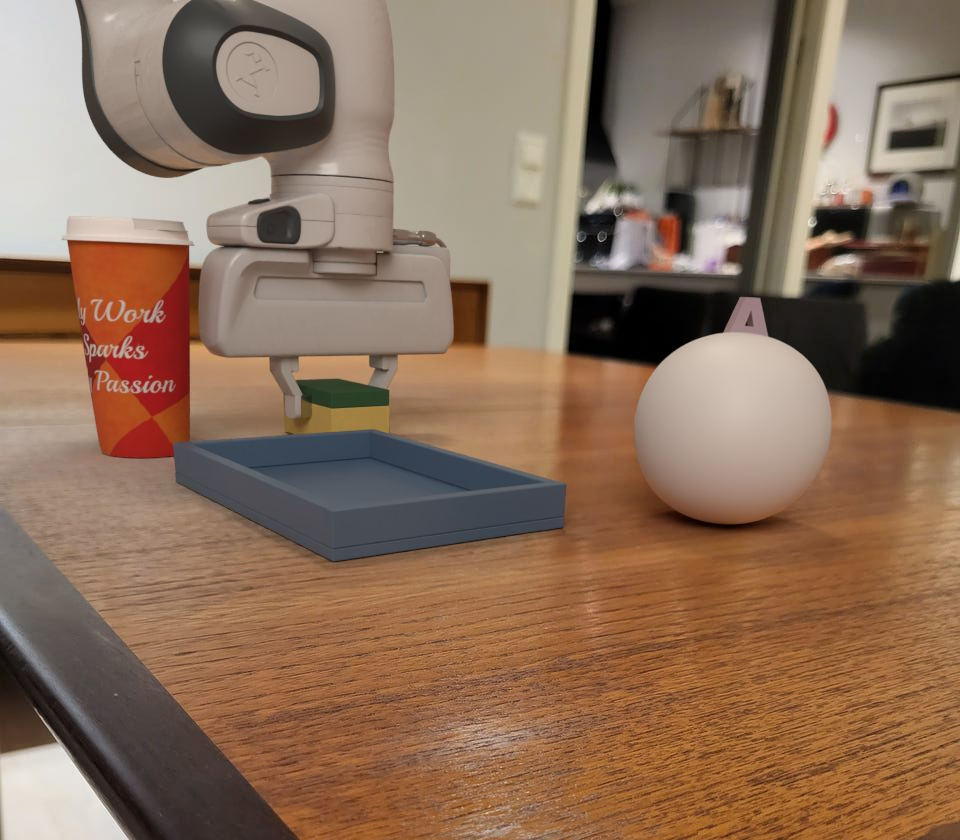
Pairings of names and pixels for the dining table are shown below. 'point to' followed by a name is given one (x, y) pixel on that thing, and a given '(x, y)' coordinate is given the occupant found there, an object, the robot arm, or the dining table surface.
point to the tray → (367, 491)
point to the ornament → (733, 424)
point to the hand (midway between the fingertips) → (335, 415)
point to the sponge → (341, 407)
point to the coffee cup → (134, 330)
